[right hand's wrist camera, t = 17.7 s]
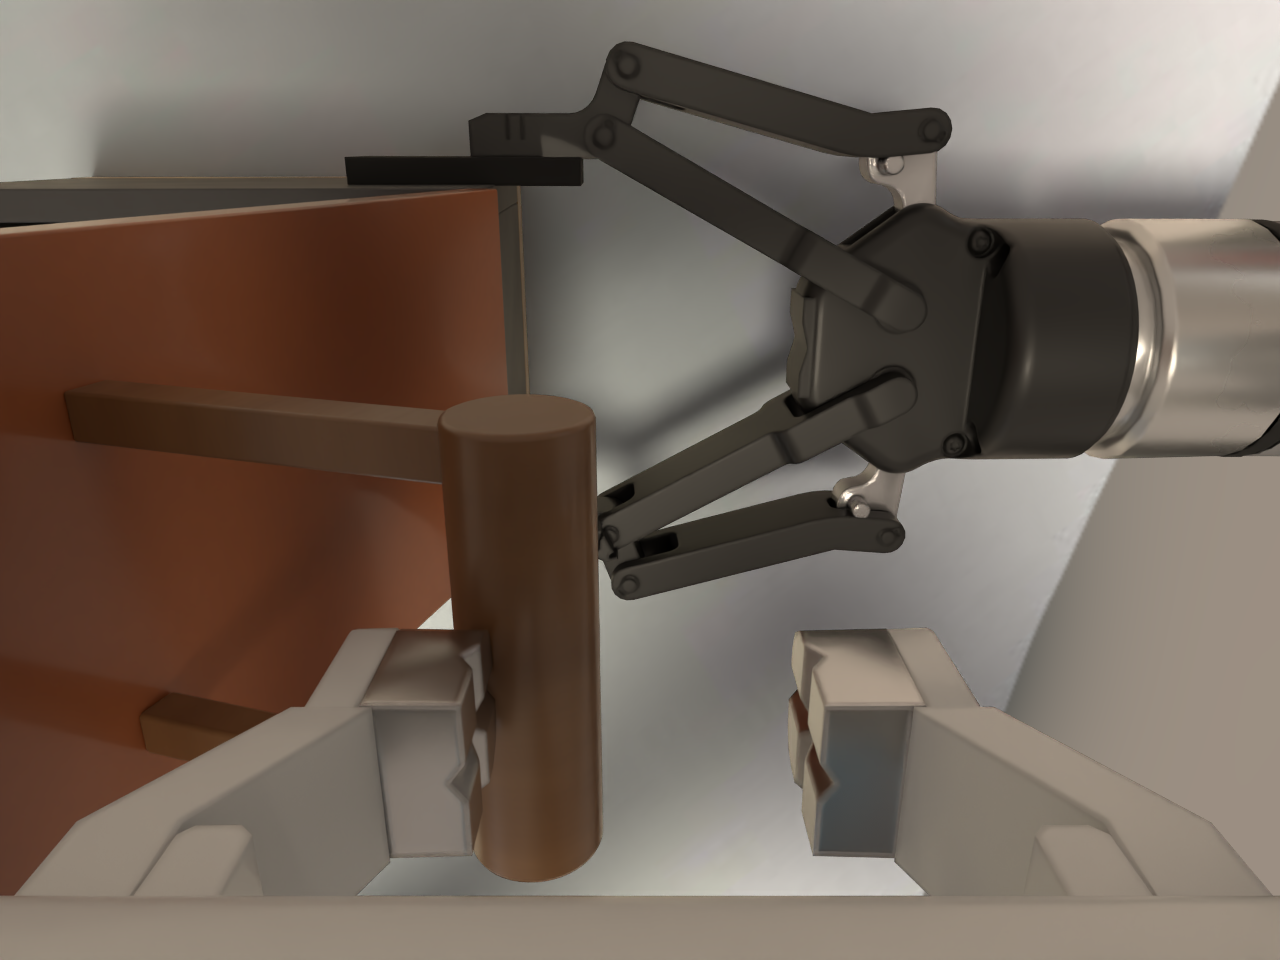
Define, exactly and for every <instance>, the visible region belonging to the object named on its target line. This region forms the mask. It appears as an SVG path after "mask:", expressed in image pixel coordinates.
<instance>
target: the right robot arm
mask: <svg viewBox="0 0 1280 960" xmlns="http://www.w3.org/2000/svg"><path fill="white" fill-rule="evenodd" d="M492 667H493V660H492V649H491V639H490V636H489V633H488V630H444V629H398V628H368V629H355V630H352V631H351V632H350V633H349V634H348V636H347V638H346V639H345V641H344V643H343V644H342V646H341V647H340V649H339V651H338V652H337V654H336V656H335V657H334V659H333V661H332V662H331V664H330V666H329V667H328V669H327V671H326V672H325V674H324V676H323V677H322V679H321V680H320V682H319V684H318V685H317V687H316V689H315V690H314V692H313V694H312V695H311V697H310V699H309V700H308V702H307V704H306V705H305V707H290V708H288V709H286V710H284V711H283V712H281V713H279V714H277V715H275V716H273V717H271V718H269V719H268V720H266V721H264V722H262V723H260V724H258V725H256V726H254V727H253V728H251V729H249V730H247V731H245V732H243V733H241V734H239V735H238V736H236V737H234V738H232V739H230V740H228V741H226V742H224V743H223V744H221V745H219V746H217V747H215V748H213V749H211V750H209V751H208V752H206V753H204V754H202V755H200V756H198V757H196V758H194V759H193V760H191V761H189V762H187V763H185V764H183V765H181V766H179V767H178V768H176V769H174V770H172V771H170V772H168V773H166V774H165V775H163V776H161V777H159V778H157V779H155V780H153V781H151V782H150V783H148V784H146V785H144V786H142V787H140V788H138V789H136V790H135V791H133V792H131V793H129V794H127V795H125V796H123V797H121V798H120V799H118V800H116V801H114V802H112V803H110V804H108V805H106V806H105V807H103V808H101V809H99V810H97V811H95V812H93V813H91V814H90V815H88V816H86V817H84V818H82V819H80V820H78V821H77V822H76V823H75V824H74V825H73V826H72V828H71V829H70V830H69V831H68V832H67V833H66V835H65V836H64V837H63V838H62V839H61V841H60V842H59V843H58V844H57V845H56V847H55V848H54V849H53V850H52V851H51V852H50V854H49V855H48V856H47V857H46V858H45V860H44V861H43V862H42V863H41V864H40V866H39V867H38V868H37V869H36V870H35V871H34V873H33V874H32V875H31V876H30V877H29V879H28V880H27V881H26V882H25V883H24V885H23V886H22V887H21V888H20V889H19V890H18V892H17V893H16V894H15V895H14V896H0V960H1280V896H1273V895H1272V894H1271V893H1270V892H1269V890H1268V889H1267V888H1266V887H1265V886H1264V885H1263V883H1262V882H1261V881H1260V880H1259V879H1258V877H1257V876H1256V875H1255V874H1254V873H1253V871H1252V870H1251V869H1250V868H1249V867H1248V866H1247V864H1246V863H1245V862H1244V861H1243V860H1242V858H1241V857H1240V856H1239V855H1238V854H1237V853H1236V851H1235V850H1234V849H1233V848H1232V847H1231V845H1230V844H1229V843H1228V842H1227V841H1226V840H1225V838H1224V837H1223V836H1222V835H1221V834H1220V832H1219V831H1218V830H1217V829H1216V828H1215V826H1214V825H1213V824H1212V823H1211V822H1209V821H1207V820H1205V819H1203V818H1202V817H1200V816H1198V815H1196V814H1194V813H1192V812H1190V811H1188V810H1187V809H1185V808H1183V807H1181V806H1179V805H1177V804H1175V803H1173V802H1171V801H1170V800H1168V799H1166V798H1164V797H1162V796H1160V795H1158V794H1156V793H1155V792H1153V791H1151V790H1149V789H1147V788H1145V787H1143V786H1141V785H1140V784H1138V783H1136V782H1134V781H1132V780H1130V779H1128V778H1126V777H1125V776H1123V775H1121V774H1119V773H1117V772H1115V771H1113V770H1111V769H1110V768H1108V767H1106V766H1104V765H1102V764H1100V763H1098V762H1096V761H1095V760H1093V759H1091V758H1089V757H1087V756H1085V755H1083V754H1081V753H1080V752H1078V751H1076V750H1074V749H1072V748H1070V747H1068V746H1066V745H1065V744H1063V743H1061V742H1059V741H1057V740H1055V739H1053V738H1051V737H1050V736H1048V735H1046V734H1044V733H1042V732H1040V731H1038V730H1036V729H1035V728H1033V727H1031V726H1029V725H1027V724H1025V723H1023V722H1021V721H1019V720H1018V719H1016V718H1014V717H1012V716H1010V715H1008V714H1006V713H1004V712H1003V711H1001V710H999V709H997V708H995V707H980V705H979V704H978V702H977V700H976V699H975V697H974V696H973V694H972V692H971V691H970V689H969V688H968V686H967V684H966V683H965V681H964V680H963V678H962V676H961V675H960V673H959V672H958V670H957V668H956V667H955V665H954V664H953V662H952V660H951V659H950V657H949V656H948V654H947V652H946V651H945V649H944V648H943V646H942V644H941V643H940V641H939V640H938V638H937V636H936V635H935V633H934V632H933V631H932V630H930V629H928V628H905V629H854V630H813V631H798V632H795V636H794V641H793V648H792V660H791V667H792V670H793V674H794V677H795V681H796V685H797V688H798V689H797V690H796V692H795V693H794V694H793V695H792V696H791V697H790V698H789V707H788V749H789V756H790V763H791V769H792V773H793V778H794V782H795V783H796V784H797V785H798V786H800V787H801V788H802V789H803V795H802V810H801V811H802V815H803V819H804V823H805V827H806V831H807V834H808V838H809V842H810V846H811V850H812V854H813V856H839V857H875V858H895V861H894V862H895V863H896V864H897V865H898V866H899V867H901V868H902V869H903V870H904V871H905V872H906V873H907V874H908V875H909V876H910V877H911V878H912V879H913V880H914V881H915V882H916V883H917V884H918V885H919V886H920V887H921V888H922V889H923V890H924V891H925V892H926V893H927V894H928V895H929V896H356V895H357V894H358V893H359V892H360V891H361V890H362V889H363V888H364V887H365V886H366V885H367V884H368V883H369V882H370V881H371V880H372V879H373V878H375V877H376V876H377V875H378V874H379V873H380V872H381V871H382V870H383V869H384V868H385V867H386V866H387V865H388V864H389V863H390V858H409V857H444V856H472V853H473V849H474V845H475V841H476V837H477V833H478V829H479V825H480V821H481V817H482V813H483V804H482V788H483V787H485V786H486V785H487V784H488V783H490V779H491V774H492V769H493V765H494V755H495V745H496V704H495V698H494V697H493V696H492V695H491V694H490V693H489V691H488V690H487V686H488V682H489V678H490V674H491V671H492Z"/></svg>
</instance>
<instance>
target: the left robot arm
mask: <svg viewBox="0 0 1280 960" xmlns="http://www.w3.org/2000/svg"><path fill="white" fill-rule="evenodd" d="M640 99H641V100H644V101H648V102H651V103H655V104H658V105H661V106H665V107H668V108H672V109H675V110H679V111H682V112H685V113H689V114H692V115H696V116H699V117H703V118H706V119H709V120H713V121H716V122H720V123H723V124H727V125H730V126H734V127H737V128H740V129H744V130H747V131H751V132H754V133H758V134H761V135H764V136H768V137H771V138H775V139H778V140H782V141H785V142H788V143H792V144H795V145H799V146H802V147H806V148H809V149H812V150H816V151H819V152H823V153H828V154H832V155H837V156H848V157H859V170H860V173H861V175H862V177H863V178H864V179H865V180H866V181H868V182H870V183H873V184H878V185H882V186H884V187H886V188H887V189H888V190H889V191H890V192H891V194H892V196H893V200H894V206H893V207H891V208H890V209H888V210H887V211H885V212H884V213H883V214H881V215H880V216H878V217H877V218H875V219H874V220H873V221H871V222H870V223H868V224H867V225H866V226H864V227H863V228H861V229H860V230H859V231H857V232H856V233H854V234H853V235H852V236H850V237H849V238H847V239H846V240H845V241H843V242H842V243H840V244H839V245H838V246H836V245H834V244H832V243H831V242H829V241H827V240H826V239H824V238H822V237H820V236H819V235H817V234H815V233H813V232H812V231H810V230H808V229H806V228H804V227H802V226H801V225H799V224H797V223H796V222H794V221H792V220H790V219H789V218H787V217H785V216H784V215H782V214H780V213H779V212H777V211H775V210H773V209H772V208H770V207H768V206H767V205H765V204H763V203H761V202H760V201H758V200H756V199H755V198H753V197H751V196H750V195H748V194H746V193H744V192H743V191H741V190H739V189H738V188H736V187H734V186H732V185H731V184H729V183H727V182H726V181H724V180H722V179H721V178H719V177H717V176H715V175H714V174H712V173H710V172H709V171H707V170H705V169H703V168H702V167H700V166H698V165H697V164H695V163H693V162H692V161H690V160H688V159H686V158H685V157H683V156H681V155H680V154H678V153H676V152H675V151H673V150H671V149H669V148H668V147H666V146H664V145H663V144H661V143H659V142H657V141H656V140H654V139H652V138H651V137H649V136H647V135H646V134H644V133H642V132H640V131H639V130H637V129H635V128H634V127H632V126H631V123H632V120H633V117H634V114H635V111H636V108H637V105H638V102H639V100H640ZM951 132H952V124H951V120H950V118H949V116H948V115H947V113H946V112H944V111H942V110H941V109H938V108H922V109H912V110H901V111H890V112H880V113H869V112H866V111H862V110H859V109H856V108H852V107H849V106H846V105H842V104H839V103H836V102H832V101H829V100H825V99H822V98H819V97H815V96H812V95H809V94H805V93H802V92H799V91H795V90H792V89H789V88H785V87H782V86H779V85H775V84H772V83H769V82H765V81H762V80H759V79H755V78H752V77H749V76H745V75H742V74H738V73H735V72H732V71H728V70H725V69H722V68H718V67H715V66H712V65H708V64H705V63H702V62H698V61H695V60H692V59H688V58H685V57H682V56H678V55H675V54H672V53H668V52H665V51H661V50H658V49H655V48H651V47H648V46H645V45H641V44H638V43H635V42H626V41H624V42H622V43H619V44H616V45H615V46H614V47H613V48H612V49H611V50H610V52H609V54H608V56H607V59H606V63H605V66H604V69H603V72H602V75H601V78H600V82H599V85H598V88H597V91H596V94H595V96H594V98H593V100H592V101H591V103H590V104H589V105H588V106H587V107H586V108H584V109H583V110H581V111H579V112H576V113H485V114H483V115H481V116H478V117H476V118H474V119H472V120H469V136H470V153H471V156H359V157H345V165H346V175H347V184H348V185H495V186H581V185H582V184H583V159H599V160H601V161H602V162H604V163H606V164H608V165H609V166H611V167H613V168H615V169H616V170H618V171H620V172H622V173H623V174H625V175H627V176H629V177H630V178H632V179H634V180H636V181H637V182H639V183H641V184H643V185H644V186H646V187H648V188H650V189H651V190H653V191H655V192H656V193H658V194H660V195H662V196H663V197H665V198H667V199H669V200H670V201H672V202H674V203H676V204H677V205H679V206H681V207H683V208H684V209H686V210H688V211H690V212H691V213H693V214H695V215H697V216H698V217H700V218H702V219H704V220H705V221H707V222H709V223H710V224H712V225H714V226H716V227H717V228H719V229H721V230H723V231H724V232H726V233H728V234H730V235H731V236H733V237H735V238H737V239H738V240H740V241H742V242H744V243H745V244H747V245H749V246H751V247H752V248H754V249H756V250H758V251H759V252H761V253H763V254H765V255H766V256H768V257H770V258H771V259H773V260H775V261H777V262H778V263H780V264H782V265H784V266H785V267H787V268H788V269H790V270H792V271H794V272H795V273H797V274H799V275H800V276H801V278H800V280H799V282H798V284H797V287H796V288H791V304H790V314H791V319H792V324H793V329H794V334H795V337H794V341H793V344H792V347H791V350H790V353H789V356H788V359H787V371H786V383H787V384H788V386H789V387H790V390H788V391H786V392H784V393H782V394H781V395H779V396H777V397H775V398H773V399H771V400H769V401H768V402H766V403H765V404H764V405H763V406H762V408H761V409H760V410H759V411H758V412H756V413H754V414H752V415H750V416H748V417H746V418H745V419H743V420H741V421H739V422H737V423H735V424H733V425H731V426H729V427H727V428H725V429H723V430H722V431H720V432H718V433H716V434H714V435H712V436H710V437H708V438H706V439H704V440H702V441H700V442H699V443H697V444H695V445H693V446H691V447H689V448H687V449H685V450H683V451H681V452H679V453H677V454H676V455H674V456H672V457H670V458H668V459H666V460H664V461H662V462H660V463H658V464H656V465H654V466H653V467H651V468H649V469H647V470H645V471H643V472H641V473H639V474H637V475H635V476H633V477H632V478H630V479H628V480H626V481H624V482H622V483H620V484H618V485H616V486H614V487H612V488H610V489H609V490H607V491H605V492H603V493H601V494H600V495H598V496H597V519H598V559H600V560H602V561H603V562H604V565H605V567H606V569H607V572H608V574H609V576H610V579H611V584H612V590H613V592H614V593H615V595H617V596H618V597H619V598H621V599H624V600H635V599H639V598H643V597H647V596H651V595H655V594H659V593H663V592H667V591H671V590H675V589H679V588H683V587H687V586H691V585H695V584H699V583H703V582H707V581H711V580H715V579H719V578H723V577H727V576H731V575H735V574H739V573H743V572H747V571H751V570H755V569H759V568H763V567H767V566H771V565H775V564H779V563H783V562H787V561H791V560H795V559H799V558H803V557H807V556H811V555H815V554H819V553H823V552H827V551H831V550H848V551H862V552H876V553H889V552H893V551H895V550H897V549H898V548H899V547H900V546H901V545H902V544H903V542H904V539H905V530H904V528H903V526H902V524H901V523H900V522H899V521H898V519H897V511H898V506H899V501H900V497H901V492H902V487H903V482H904V477H905V473H906V472H909V471H912V470H914V469H916V468H918V467H920V466H922V465H924V464H926V463H928V462H931V461H934V460H938V459H944V458H954V459H1056V458H1072V457H1076V456H1078V455H1080V454H1082V453H1086V454H1087V455H1089V456H1092V457H1097V458H1101V459H1116V458H1155V457H1192V456H1221V457H1242V456H1280V221H1268V220H1251V219H1114V220H1110V221H1107V222H1105V223H1103V224H1101V225H1100V224H1098V223H1096V222H1094V221H1092V220H1089V219H970V218H959V217H957V216H954V215H953V214H951V213H949V212H948V211H946V210H945V209H943V208H941V207H940V206H937V205H936V176H937V151H939V150H940V149H942V148H943V147H944V146H945V145H946V144H947V142H948V140H949V139H950V137H951ZM840 443H843V444H844V445H846V446H847V447H848V448H850V449H851V450H853V451H854V452H855V453H857V454H858V455H859V456H861V457H862V458H864V459H865V460H866V461H868V462H869V463H868V466H867V467H866V469H865V470H864V471H863V472H862V473H860V474H859V475H857V476H853V477H848V478H843V479H840V480H839V481H838V482H837V483H836V485H835V486H834V488H833V491H827V490H824V491H813V492H807V493H802V494H797V495H794V496H790V497H786V498H782V499H778V500H774V501H770V502H766V503H762V504H758V505H754V506H750V507H746V508H742V509H739V510H735V511H731V512H727V513H723V514H719V515H715V516H711V517H707V518H703V519H699V520H695V521H691V522H687V523H684V524H680V525H676V526H672V527H668V528H664V529H660V528H662V527H664V526H666V525H668V524H670V523H672V522H674V521H676V520H678V519H680V518H682V517H684V516H686V515H688V514H690V513H692V512H693V511H695V510H697V509H699V508H701V507H703V506H705V505H707V504H709V503H711V502H713V501H715V500H717V499H719V498H721V497H723V496H725V495H727V494H729V493H731V492H733V491H735V490H737V489H739V488H741V487H742V486H744V485H746V484H748V483H750V482H752V481H754V480H756V479H758V478H760V477H762V476H764V475H766V474H768V473H770V472H772V471H774V470H776V469H778V468H780V467H782V466H784V465H786V464H798V463H802V462H804V461H807V460H809V459H811V458H813V457H815V456H817V455H819V454H821V453H823V452H824V451H826V450H828V449H830V448H832V447H834V446H836V445H838V444H840ZM658 529H660V530H658Z"/></svg>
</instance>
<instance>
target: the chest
mask: <svg viewBox="0 0 1280 960" xmlns="http://www.w3.org/2000/svg"><path fill="white" fill-rule="evenodd" d="M457 189H496V190H497V195H498V214H499V233H500V252H501V270H502V289H503V308H504V327H505V346H506V365H507V384H508V395H515V394H530V391H529V368H528V345H527V323H526V300H525V277H524V255H523V232H522V210H521V187H520V186H495V185H348V184H347V177H81V178H70V179H52V180H34V181H16V182H0V228H8V227H20V226H32V225H44V224H55V223H67V222H79V221H91V220H103V219H114V218H126V217H138V216H150V215H162V214H173V213H185V212H197V211H209V210H221V209H233V208H244V207H256V206H268V205H280V204H292V203H303V202H315V201H327V200H339V199H351V198H363V197H374V196H386V195H398V194H410V193H422V192H433V191H445V190H457Z"/></svg>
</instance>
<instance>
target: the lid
mask: <svg viewBox="0 0 1280 960" xmlns="http://www.w3.org/2000/svg"><path fill="white" fill-rule="evenodd" d="M450 598H451V601H452V613H453V625H454V630H488V633H489V636H490V639H491V649H492V660H493V667H492V671H491V674H490V678H489V682H488V686H487V690H488V691H489V693H490V694H491V695H492V696H493V697H494V698H495V704H496V745H495V755H494V765H493V769H492V774H491V779H490V783H488V784H487V785H486V786H485V787H483V788H482V804H483V813H482V817H481V821H480V825H479V829H478V833H477V837H476V841H475V845H474V849H473V850H474V853H475V855H476V856H477V858H478V859H479V861H480V862H481V863H482V864H483V865H484V866H485V867H486V868H487V869H488V870H489V871H491V872H492V873H494V874H496V875H498V876H500V877H502V878H505V879H509V880H513V881H518V882H543V881H549V880H553V879H557V878H560V877H563V876H565V875H567V874H570V873H572V872H573V871H575V870H577V869H578V868H580V867H581V866H582V865H584V864H585V863H586V862H587V861H588V860H589V859H590V858H591V857H592V856H593V854H594V853H595V851H596V850H597V848H598V846H599V844H600V841H601V839H602V835H603V793H602V738H601V683H600V628H599V574H598V519H597V464H596V417H595V415H594V412H593V410H592V409H591V408H590V407H589V406H587V405H585V404H583V403H581V402H578V401H575V400H571V399H568V398H563V397H557V396H550V395H537V394H515V395H508V384H507V365H506V346H505V327H504V308H503V289H502V270H501V252H500V233H499V214H498V195H497V190H496V189H457V190H445V191H433V192H422V193H410V194H398V195H386V196H374V197H363V198H351V199H339V200H327V201H315V202H303V203H292V204H280V205H268V206H256V207H244V208H233V209H221V210H209V211H197V212H185V213H173V214H162V215H150V216H138V217H126V218H114V219H103V220H91V221H79V222H67V223H55V224H44V225H32V226H20V227H8V228H0V896H14V895H15V894H16V893H17V892H18V890H19V889H20V888H21V887H22V886H23V885H24V883H25V882H26V881H27V880H28V879H29V877H30V876H31V875H32V874H33V873H34V871H35V870H36V869H37V868H38V867H39V866H40V864H41V863H42V862H43V861H44V860H45V858H46V857H47V856H48V855H49V854H50V852H51V851H52V850H53V849H54V848H55V847H56V845H57V844H58V843H59V842H60V841H61V839H62V838H63V837H64V836H65V835H66V833H67V832H68V831H69V830H70V829H71V828H72V826H73V825H74V824H75V823H76V822H77V821H78V820H80V819H82V818H84V817H86V816H88V815H90V814H91V813H93V812H95V811H97V810H99V809H101V808H103V807H105V806H106V805H108V804H110V803H112V802H114V801H116V800H118V799H120V798H121V797H123V796H125V795H127V794H129V793H131V792H133V791H135V790H136V789H138V788H140V787H142V786H144V785H146V784H148V783H150V782H151V781H153V780H155V779H157V778H159V777H161V776H163V775H165V774H166V773H168V772H170V771H172V770H174V769H176V768H178V767H179V766H181V765H183V764H185V763H187V762H189V761H191V760H193V759H194V758H196V757H198V756H200V755H202V754H204V753H206V752H208V751H209V750H211V749H213V748H215V747H217V746H219V745H221V744H223V743H224V742H226V741H228V740H230V739H232V738H234V737H236V736H238V735H239V734H241V733H243V732H245V731H247V730H249V729H251V728H253V727H254V726H256V725H258V724H260V723H262V722H264V721H266V720H268V719H269V718H271V717H273V716H275V715H277V714H279V713H281V712H283V711H284V710H286V709H288V708H290V707H305V705H306V704H307V702H308V700H309V699H310V697H311V695H312V694H313V692H314V690H315V689H316V687H317V685H318V684H319V682H320V680H321V679H322V677H323V676H324V674H325V672H326V671H327V669H328V667H329V666H330V664H331V662H332V661H333V659H334V657H335V656H336V654H337V652H338V651H339V649H340V647H341V646H342V644H343V643H344V641H345V639H346V638H347V636H348V634H349V633H350V632H351V631H352V630H355V629H368V628H398V629H417V628H418V627H419V626H421V625H422V624H423V623H424V622H425V621H426V620H427V619H428V618H429V617H430V616H431V615H433V614H434V613H435V612H436V611H437V610H438V609H439V608H440V607H441V606H442V605H443V604H445V603H446V602H447V601H448V600H449V599H450Z"/></svg>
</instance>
